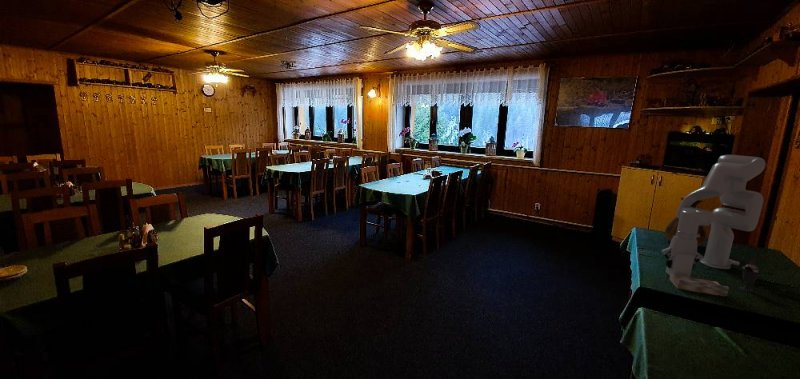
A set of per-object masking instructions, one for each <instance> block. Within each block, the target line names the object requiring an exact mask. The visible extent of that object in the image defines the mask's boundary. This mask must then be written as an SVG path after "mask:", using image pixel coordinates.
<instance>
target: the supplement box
mask: <svg viewBox="0 0 800 379" xmlns="http://www.w3.org/2000/svg"><path fill="white" fill-rule="evenodd" d="M670 253H671V251H670ZM670 253H668V255H669V254H670ZM694 257H695V256H694V255H686V254H679V253H676V255H675V257H674V258H673V259H671V261H672V263H671V268H668V267H667V266H666V269H665V273H666V274H667V275H668V276H670V275H677V276H683V277H690V278H691V276H692V275H691V274H692V272H693V269H692V266H693V262H694Z"/></svg>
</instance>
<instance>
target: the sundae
mask: <svg viewBox="0 0 800 379" xmlns="http://www.w3.org/2000/svg"><path fill="white" fill-rule="evenodd" d="M740 268H741V269H742V280H743V281H744V282H745V285H744V286H739V287H738V289H739V290H741V291H743V292H746V293H754V290H753V289H751V288H750V285H751V284H753V283H755V282H756V280H757V279H758V276H759V275H760V274H762V271H761V269H759V268H758V266H757V264H756V258H753V261H751V262H749V263H747V264H746V265H744V266H741V267H740Z"/></svg>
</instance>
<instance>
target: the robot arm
mask: <svg viewBox="0 0 800 379" xmlns="http://www.w3.org/2000/svg"><path fill="white" fill-rule="evenodd" d="M765 168H766V161H765V159H763V158H762V157H758V156H748V155H738V154H724V155H723V154H722V155H720V156H719V157H718V158H717V162H716V163H715V164H713V165H712V166H711V168H710V171H709V172H708V174H707V176H706V178H705V180H704V182H703V184H702V185H701V187H700V188H698V189H696V190H694V191H692V192H690V193H688V194H687V195H685V197H683V198H684V199H683V200H682V199H681V203H680V204H679V205H678V208H677V210H676V217H678V218H679V223H678V228H677V233H676V236H673V238H672V240H671V241H670V244H669V246H668V247H667V248H664V249H661V253H662V255H663V256H664V257H665V258H666V261H665V265H666V267H668V268H671V263H672V261H671V259H673V258H674V257H675V255H676V253H679V254H686V255H694V256H695V257H694V262H693V266H692V270H694V266H695V265H696V264H697V263H698V262H699V263H701V264H703V265H705V266H707V267H711V268H713V269H720V270H730V269H731V268H732V266H731V265H734V266H740V261H737V260H734V259H730V254H731V251H732V250H731V249H732V247H733V243H734V242H733V241H734V239H735V234H734V232H733V230H732V229H735V230H740V231H744V232H753V231H755V229H756V228H757V226H758V223H759V219H760V216H761V212H762V209H763V205H764V196H763V195H762V194H761V192H758V191H754V190H748V189H746V187H747V183H748V181H749V182H750V181H751V180H752V179H753V178H756V177H757V176H759V175H760V174H761V173H762V172H763V171H764V170H765ZM717 197H719V203H720V204H721V205H724V206H727V207H717V208H715V209H713V210H712V211H710V210H707V209H702V208H698V207H696V208H693V207H690V206H691V205H692V204H693V203H694V202H695V201H697V200H705V199H711V198H717ZM728 207H732V208H733V209H732V208H728ZM735 208H737V209H735ZM738 209H742V210H743V211H742V210H738ZM699 225H701V226H704V227H706V226H707V227H708V226H709V225H710V229H709V235H708V240H707V242H706V247H705V252H704V256H703V255H702V254H701V253H699V252H698V246H697V239H696V238H697V237H700V235H698V234H697V231H698V226H699ZM670 251H671V253H670ZM667 253H668V254H667ZM669 253H670V254H669Z"/></svg>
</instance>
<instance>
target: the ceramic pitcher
mask: <svg viewBox="0 0 800 379" xmlns="http://www.w3.org/2000/svg"><path fill="white" fill-rule="evenodd" d="M684 198H685V197H680V200H681V201H682V200H683V199H684ZM702 202H704V199H700V200H697V201H695V202H694V203H693V204H692V205H691V206H690V207H693V208H698V205H699V204H700V203H702ZM678 223H679V218H678V217H677V216H676V217H674V218H672V220H671V221H670V222H669V223H668V225H667V226H666V228H665V230H664V237H665V239H666V240H668V241H670V242H671V240H672V238H673V236H676V233H677V228H678ZM697 234H698V235H700V237H697V238H696V239H697V247H700V246H703V245H704V243H705V242H706V237H707V236H706V235H707V233H706V228H705V226H701V225H699V226H698V231H697Z"/></svg>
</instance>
